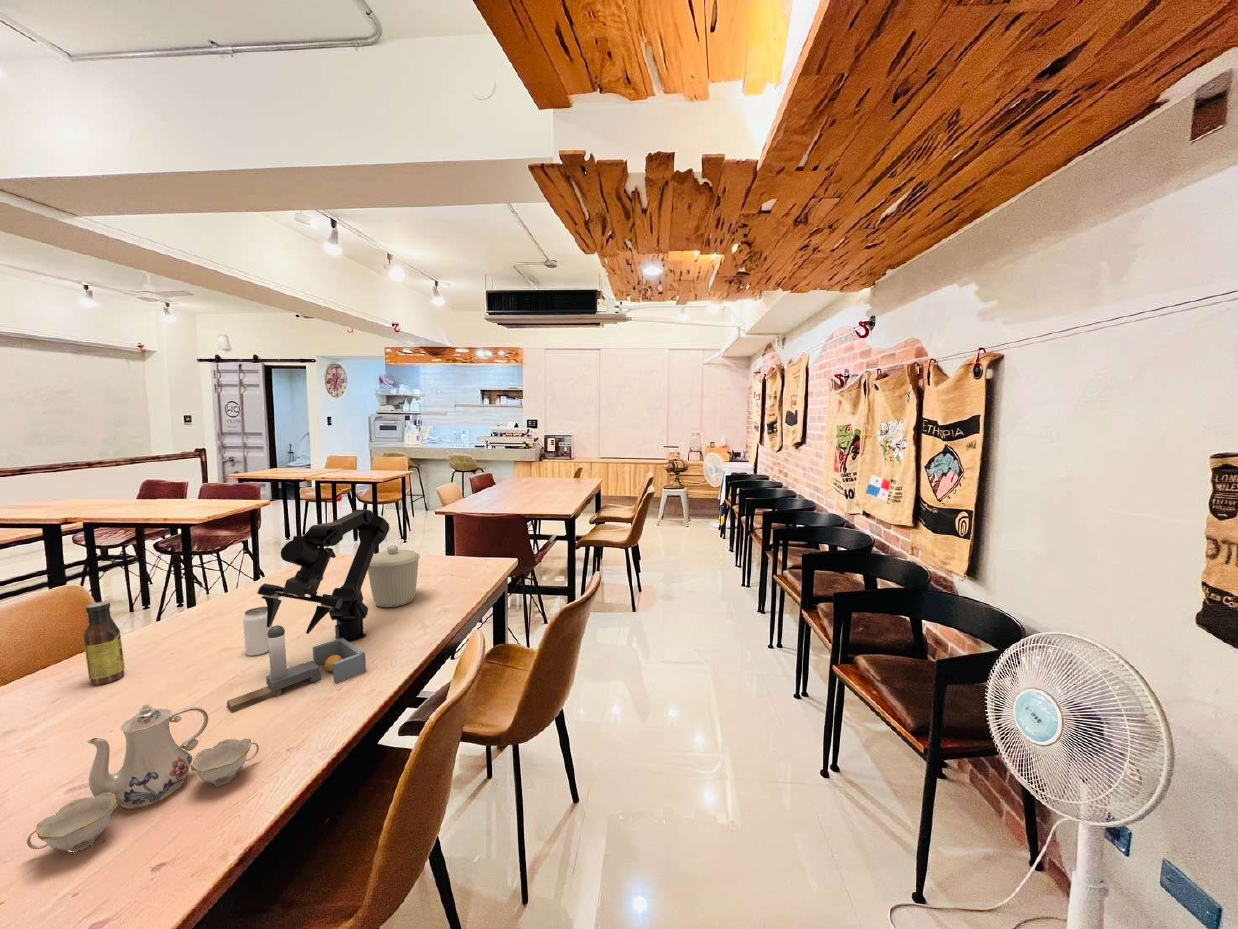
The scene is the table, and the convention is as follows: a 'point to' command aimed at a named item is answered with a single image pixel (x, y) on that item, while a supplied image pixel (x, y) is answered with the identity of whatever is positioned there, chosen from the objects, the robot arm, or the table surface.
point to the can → (256, 631)
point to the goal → (350, 655)
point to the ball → (332, 661)
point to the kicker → (278, 663)
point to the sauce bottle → (103, 645)
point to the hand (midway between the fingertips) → (287, 630)
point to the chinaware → (139, 776)
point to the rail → (252, 698)
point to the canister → (393, 576)
